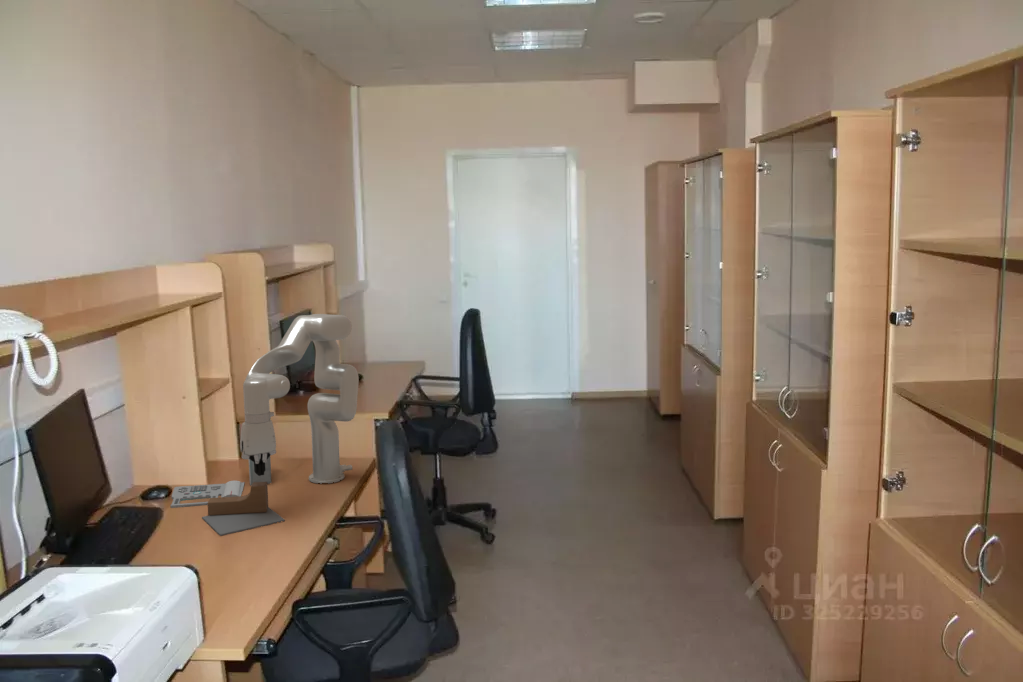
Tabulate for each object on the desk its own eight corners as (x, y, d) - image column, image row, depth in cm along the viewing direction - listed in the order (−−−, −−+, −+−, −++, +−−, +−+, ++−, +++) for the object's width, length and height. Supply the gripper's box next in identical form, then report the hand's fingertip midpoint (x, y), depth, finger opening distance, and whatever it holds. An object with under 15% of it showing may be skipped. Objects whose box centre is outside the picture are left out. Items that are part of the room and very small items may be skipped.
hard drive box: (249, 472, 302) (247, 420, 299) (271, 471, 305) (268, 419, 302) (249, 486, 288) (246, 431, 285) (272, 483, 290) (269, 429, 287)
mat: (264, 505, 269) (264, 503, 269) (284, 521, 255) (284, 519, 255) (202, 518, 257) (201, 516, 257) (220, 536, 243) (220, 534, 243)
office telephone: (244, 478, 291) (241, 496, 272) (244, 485, 291) (242, 503, 272) (174, 483, 284) (166, 502, 265) (174, 490, 285) (167, 509, 266)
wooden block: (267, 481, 263) (209, 484, 261) (265, 485, 259) (206, 488, 256) (268, 507, 265) (210, 510, 262) (266, 512, 260) (207, 515, 258)
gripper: (276, 412, 262) (278, 467, 265) (229, 419, 253) (232, 476, 256) (285, 416, 256) (287, 473, 259) (237, 423, 247) (240, 482, 250)
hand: (260, 474), depth 257 cm, fingers closed
